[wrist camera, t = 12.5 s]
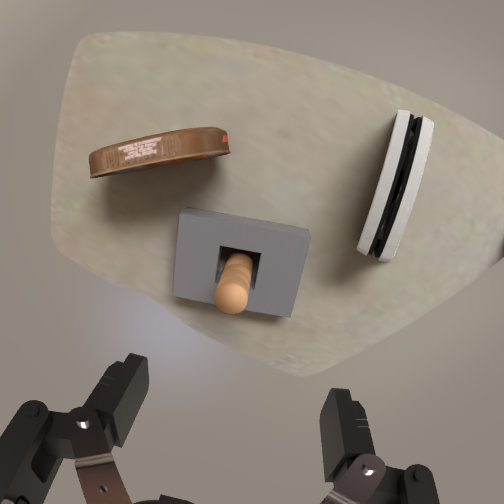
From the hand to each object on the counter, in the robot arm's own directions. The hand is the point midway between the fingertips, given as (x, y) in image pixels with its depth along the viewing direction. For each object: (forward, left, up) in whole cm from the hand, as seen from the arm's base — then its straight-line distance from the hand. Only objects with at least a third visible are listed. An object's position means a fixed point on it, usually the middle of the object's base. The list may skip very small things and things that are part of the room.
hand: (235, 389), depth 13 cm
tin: (+12, -7, -25) cm, 29 cm away
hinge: (-14, -8, -25) cm, 30 cm away
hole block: (+2, +4, -25) cm, 25 cm away
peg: (+1, +4, -25) cm, 25 cm away
